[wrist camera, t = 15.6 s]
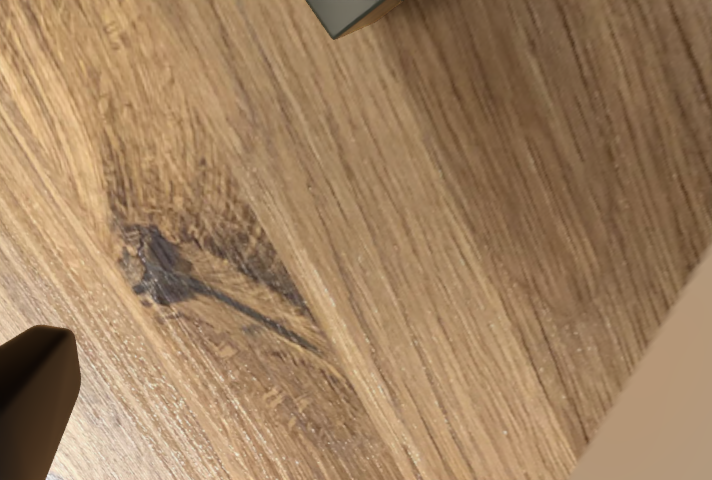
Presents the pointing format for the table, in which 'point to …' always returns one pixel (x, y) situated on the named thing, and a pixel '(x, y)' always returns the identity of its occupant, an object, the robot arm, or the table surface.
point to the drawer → (349, 14)
